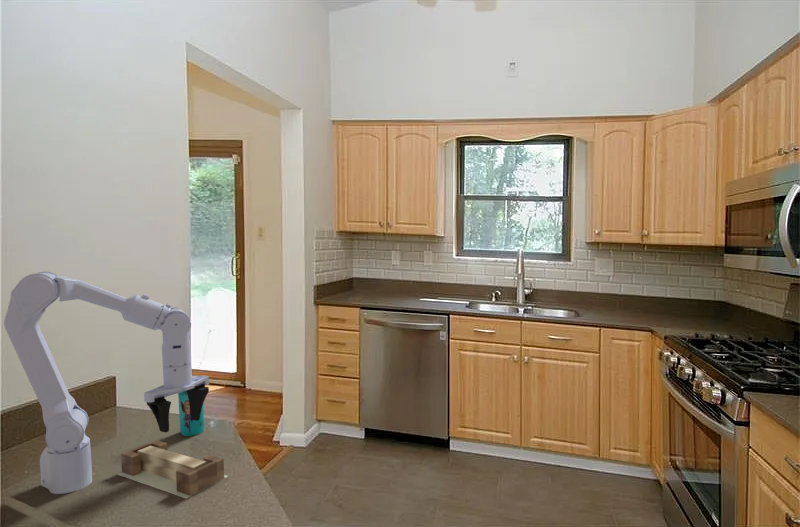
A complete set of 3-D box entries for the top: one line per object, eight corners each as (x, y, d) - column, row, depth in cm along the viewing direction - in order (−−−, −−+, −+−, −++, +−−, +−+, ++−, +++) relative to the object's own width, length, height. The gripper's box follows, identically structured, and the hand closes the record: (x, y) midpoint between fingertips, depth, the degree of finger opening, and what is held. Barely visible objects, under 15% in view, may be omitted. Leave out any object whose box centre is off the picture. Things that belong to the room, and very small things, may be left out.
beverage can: (178, 441, 124) (175, 381, 123) (182, 433, 129) (179, 376, 129) (203, 438, 125) (200, 379, 125) (205, 430, 131) (203, 373, 130)
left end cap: (121, 472, 105) (120, 453, 105) (156, 457, 112) (155, 440, 112) (133, 476, 103) (132, 457, 103) (168, 460, 110) (167, 443, 110)
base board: (117, 478, 104) (117, 474, 104) (161, 460, 113) (160, 455, 113) (186, 503, 93) (185, 498, 93) (228, 480, 102) (228, 475, 102)
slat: (138, 469, 106) (137, 450, 106) (151, 463, 109) (150, 445, 109) (194, 487, 97) (193, 467, 97) (207, 481, 100) (206, 461, 100)
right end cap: (176, 491, 96) (175, 470, 96) (211, 474, 103) (210, 455, 103) (190, 495, 94) (189, 475, 94) (224, 478, 101) (223, 458, 101)
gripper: (157, 374, 101) (160, 440, 101) (216, 358, 113) (219, 417, 114) (136, 370, 104) (140, 434, 105) (196, 355, 117) (199, 412, 117)
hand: (180, 425), depth 109 cm, fingers open, 7 cm apart
